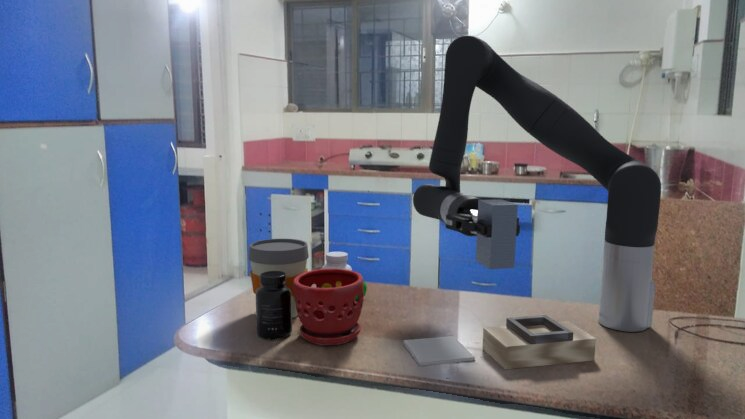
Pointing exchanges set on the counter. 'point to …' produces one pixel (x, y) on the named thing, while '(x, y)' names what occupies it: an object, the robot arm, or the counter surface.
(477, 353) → the counter surface
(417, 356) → the rubber mat
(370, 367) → the counter surface
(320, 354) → the counter surface
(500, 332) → the tan piece
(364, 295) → the polyhedron
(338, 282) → the supplement bottle
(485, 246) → the brushed metal block
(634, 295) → the robot arm
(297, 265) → the reusable coffee cup
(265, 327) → the supplement bottle
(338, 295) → the plant pot
